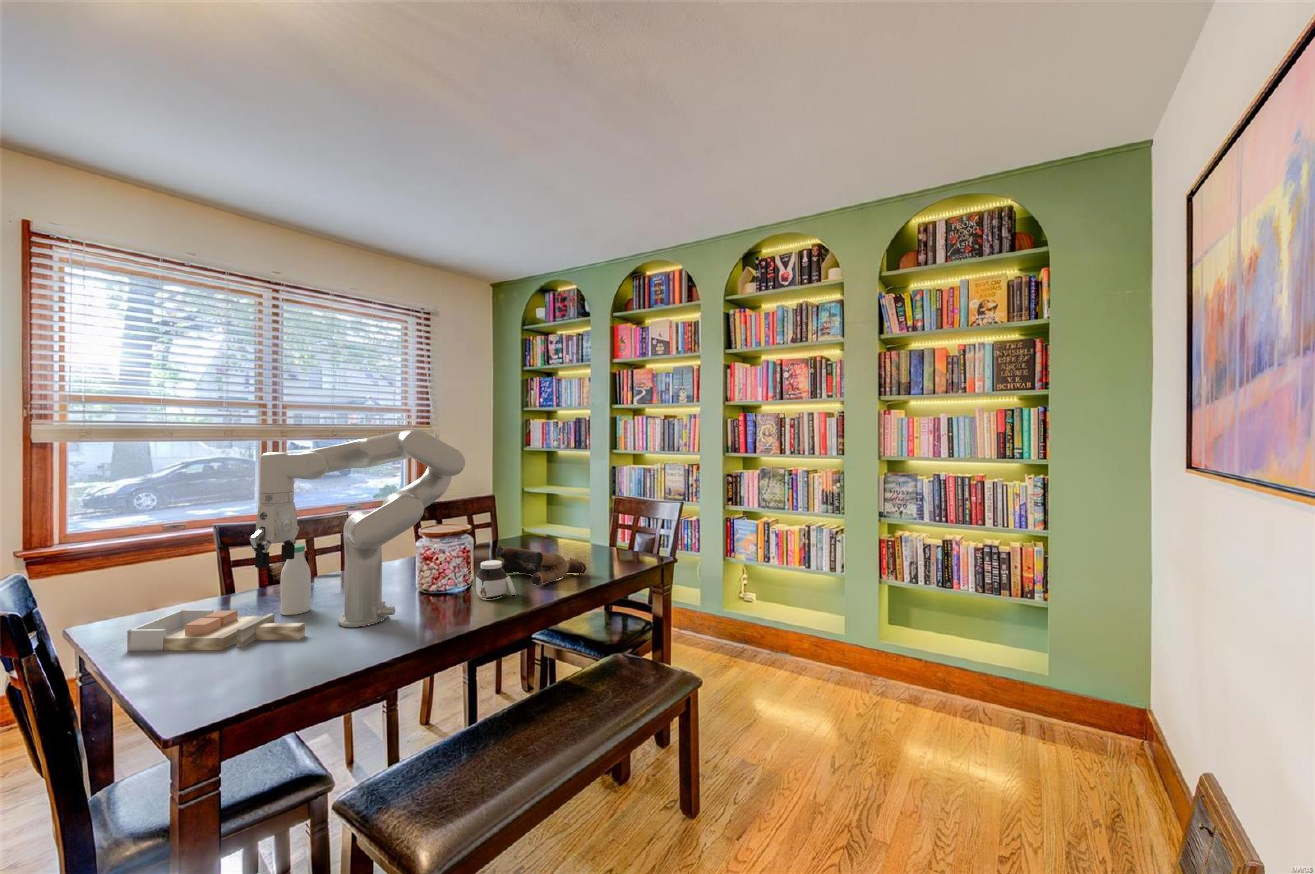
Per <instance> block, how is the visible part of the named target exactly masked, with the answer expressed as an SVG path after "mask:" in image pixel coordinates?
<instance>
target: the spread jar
mask: <svg viewBox="0 0 1315 874" xmlns="http://www.w3.org/2000/svg"><path fill="white" fill-rule="evenodd" d="M502 564H503V562H502V561H501V560H496V559H491V560H485V561H482V562H480V569H479V570H478V571H477V573H476V576H475V577H476V578H475V582H476V583H475V588H476V589H475V590H476V594H477V596H480V597H482V598H486V599H493V598H497V597H500V596H503V595H504V596H505V595H506V592H507V587H508V590H509V592H511V593H510V595H511V594H512V595H514V594H516V595H517V592H516V589H515V587H514V583H513V581H512V577H511V576H507V577H506V574H505V571H504V570H503V568H502ZM512 595H511V596H512ZM504 596H503V597H504Z"/></svg>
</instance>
